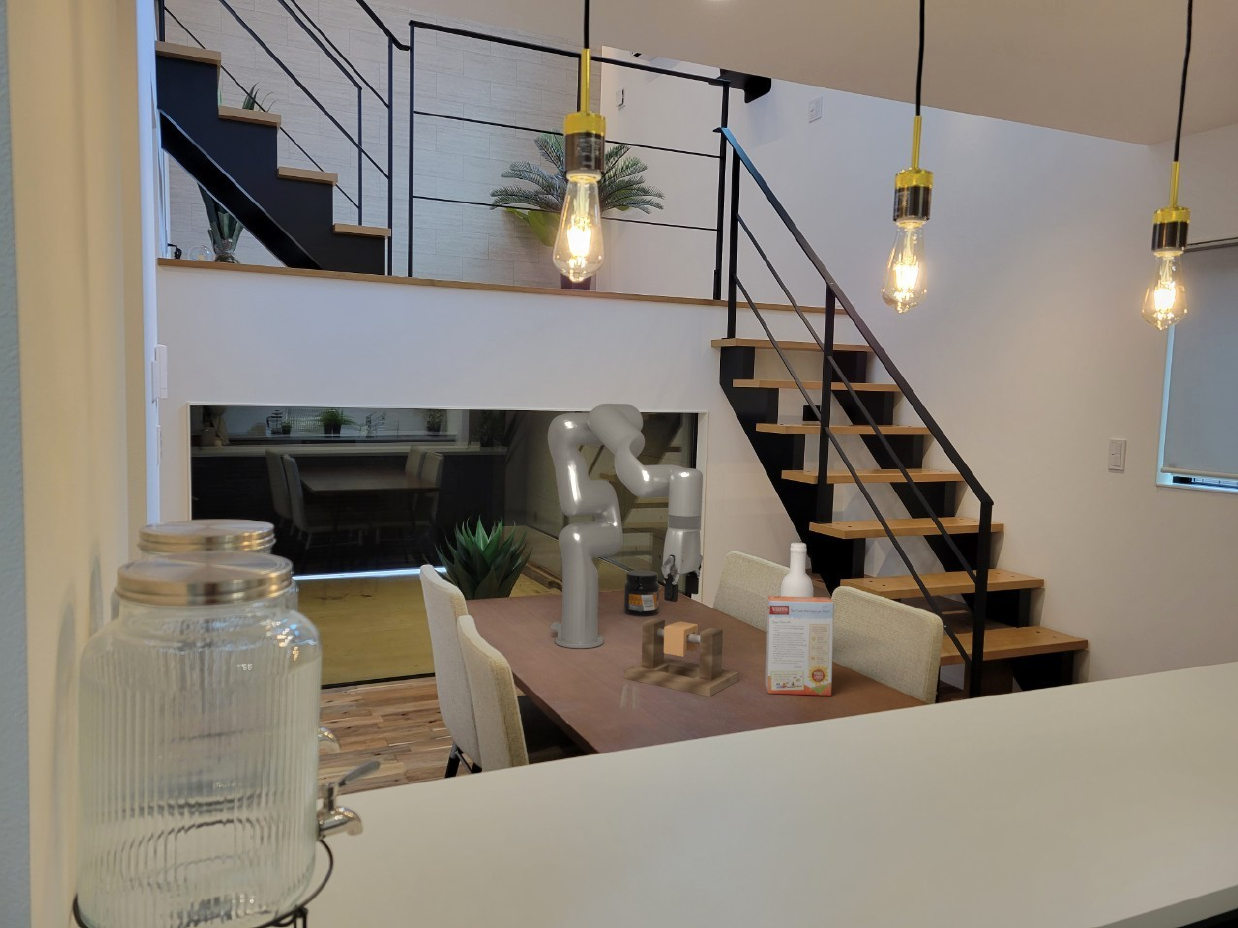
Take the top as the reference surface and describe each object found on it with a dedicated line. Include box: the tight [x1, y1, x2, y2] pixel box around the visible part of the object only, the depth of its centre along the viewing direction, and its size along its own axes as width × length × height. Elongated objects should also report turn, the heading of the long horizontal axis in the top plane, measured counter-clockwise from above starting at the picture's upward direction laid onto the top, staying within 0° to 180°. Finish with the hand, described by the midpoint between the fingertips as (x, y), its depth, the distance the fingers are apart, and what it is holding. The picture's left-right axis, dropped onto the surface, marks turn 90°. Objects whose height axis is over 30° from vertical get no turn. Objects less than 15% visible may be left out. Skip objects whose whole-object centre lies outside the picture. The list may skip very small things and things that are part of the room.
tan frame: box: [623, 617, 739, 698], centre depth 208 cm, size 22×14×12 cm, turn 57°
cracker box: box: [765, 595, 835, 697], centre depth 201 cm, size 14×6×21 cm, turn 86°
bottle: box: [780, 542, 814, 597], centre depth 220 cm, size 8×8×30 cm
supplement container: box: [623, 569, 660, 617], centre depth 274 cm, size 10×10×12 cm
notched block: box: [664, 620, 699, 657], centre depth 208 cm, size 5×7×6 cm
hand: (681, 597), depth 208 cm, fingers open, 9 cm apart
